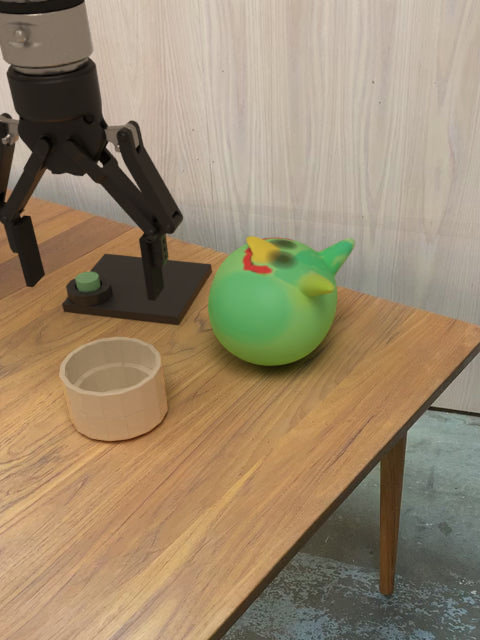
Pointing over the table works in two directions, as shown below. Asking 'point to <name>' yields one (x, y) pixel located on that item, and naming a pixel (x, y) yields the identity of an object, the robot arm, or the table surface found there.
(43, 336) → the table surface
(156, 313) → the scale
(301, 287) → the toy bird
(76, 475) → the table surface
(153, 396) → the bowl
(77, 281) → the button
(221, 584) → the table surface
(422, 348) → the table surface
